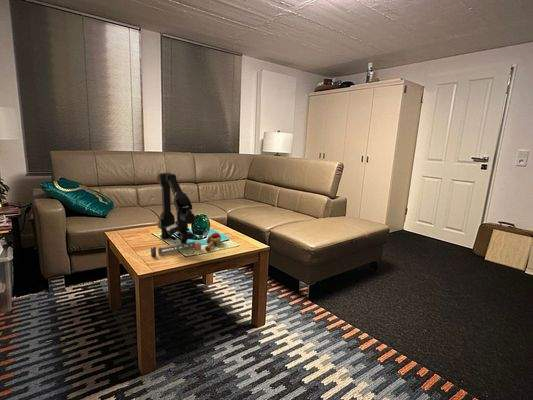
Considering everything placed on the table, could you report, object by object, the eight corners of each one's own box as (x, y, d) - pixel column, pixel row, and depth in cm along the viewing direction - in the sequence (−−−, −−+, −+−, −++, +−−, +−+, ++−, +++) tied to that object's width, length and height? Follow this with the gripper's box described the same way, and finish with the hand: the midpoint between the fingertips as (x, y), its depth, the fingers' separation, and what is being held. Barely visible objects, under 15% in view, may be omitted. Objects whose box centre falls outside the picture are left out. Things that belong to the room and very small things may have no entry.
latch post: (193, 249, 159) (193, 242, 159) (199, 248, 161) (198, 241, 160) (195, 251, 157) (195, 244, 156) (201, 250, 159) (200, 243, 158)
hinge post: (150, 255, 149) (150, 247, 148) (155, 254, 150) (155, 246, 149) (151, 257, 147) (151, 248, 146) (156, 256, 148) (156, 248, 147)
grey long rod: (158, 253, 151) (158, 247, 150) (194, 246, 162) (194, 241, 161) (159, 254, 149) (158, 248, 149) (196, 247, 161) (195, 242, 160)
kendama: (216, 254, 157) (224, 239, 174) (213, 244, 155) (222, 229, 172) (202, 255, 158) (212, 240, 175) (199, 245, 156) (209, 231, 173)
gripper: (162, 217, 159) (163, 243, 162) (172, 226, 144) (173, 255, 147) (182, 214, 165) (183, 240, 169) (194, 223, 150) (194, 251, 154)
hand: (183, 246), depth 159 cm, fingers closed
